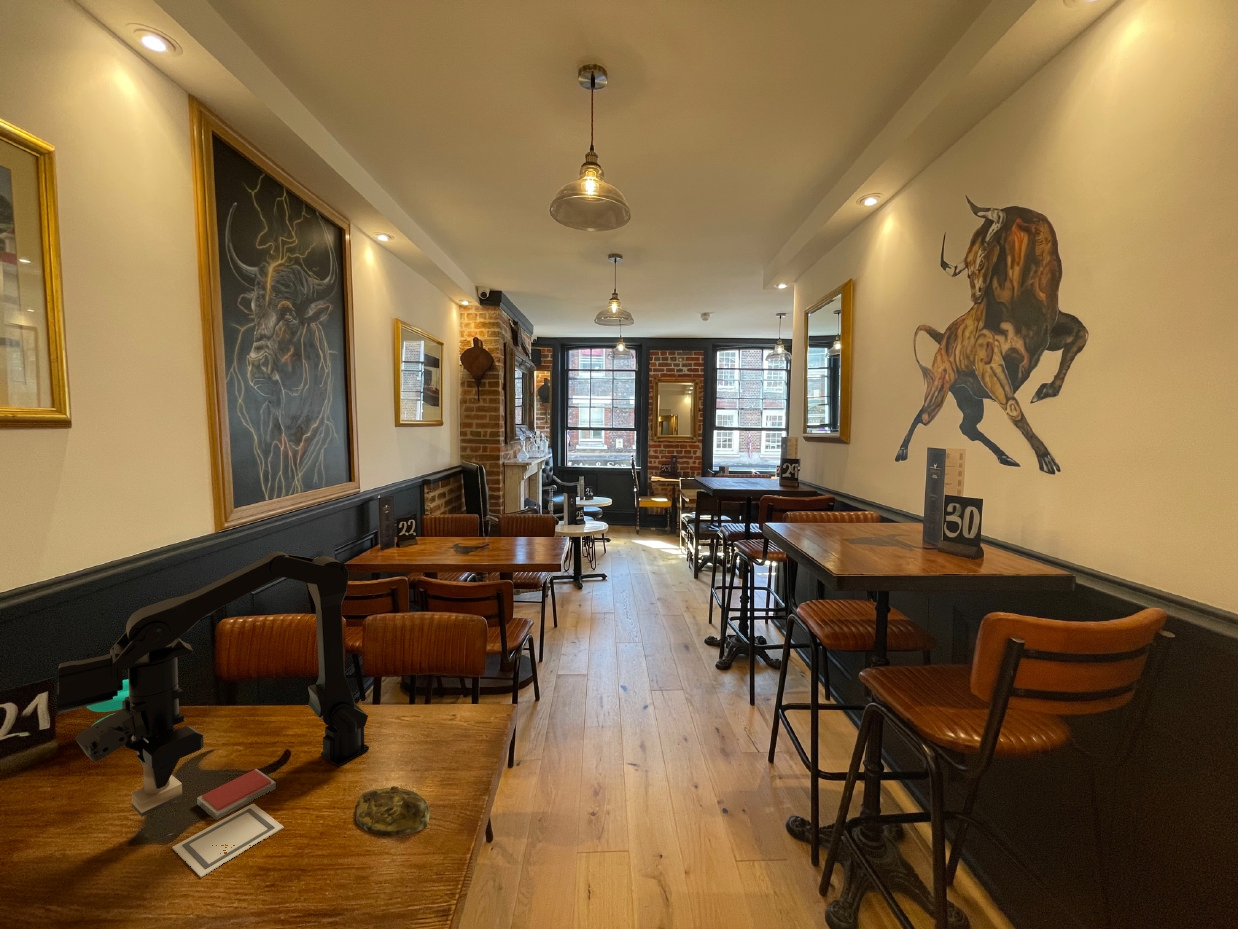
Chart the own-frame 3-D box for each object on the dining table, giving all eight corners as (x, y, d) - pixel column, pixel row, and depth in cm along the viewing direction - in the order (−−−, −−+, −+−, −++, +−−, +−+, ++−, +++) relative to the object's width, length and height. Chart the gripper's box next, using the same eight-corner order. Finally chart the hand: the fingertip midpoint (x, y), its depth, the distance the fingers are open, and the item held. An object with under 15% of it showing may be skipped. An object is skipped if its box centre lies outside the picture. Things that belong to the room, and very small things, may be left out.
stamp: (172, 788, 84) (170, 739, 84) (182, 797, 82) (180, 747, 82) (132, 807, 80) (130, 755, 80) (141, 817, 78) (139, 764, 78)
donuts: (76, 691, 104) (139, 672, 113) (77, 739, 105) (140, 716, 114) (96, 704, 100) (160, 683, 109) (97, 753, 100) (161, 728, 109)
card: (253, 804, 87) (253, 802, 87) (283, 828, 82) (283, 826, 82) (172, 848, 78) (172, 846, 78) (201, 878, 73) (201, 876, 73)
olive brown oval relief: (337, 826, 84) (406, 853, 79) (333, 801, 84) (403, 827, 78) (381, 784, 93) (447, 807, 88) (378, 761, 92) (445, 782, 87)
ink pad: (256, 775, 95) (256, 767, 95) (275, 788, 91) (275, 780, 91) (197, 804, 87) (197, 796, 87) (216, 820, 83) (215, 811, 83)
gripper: (62, 693, 78) (66, 791, 79) (103, 731, 68) (107, 842, 69) (156, 666, 88) (158, 753, 88) (203, 695, 78) (206, 793, 79)
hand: (157, 783), depth 81 cm, fingers closed on stamp, 3 cm apart
